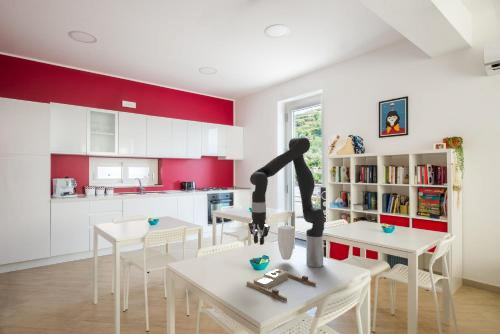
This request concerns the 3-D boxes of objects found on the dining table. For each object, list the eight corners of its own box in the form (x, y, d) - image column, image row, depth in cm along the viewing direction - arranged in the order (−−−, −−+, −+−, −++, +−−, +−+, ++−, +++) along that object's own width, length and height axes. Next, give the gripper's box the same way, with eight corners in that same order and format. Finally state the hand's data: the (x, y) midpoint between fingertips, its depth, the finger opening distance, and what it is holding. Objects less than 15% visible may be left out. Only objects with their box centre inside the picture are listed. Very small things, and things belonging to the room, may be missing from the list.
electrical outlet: (253, 277, 135) (277, 268, 148) (253, 286, 135) (277, 275, 148) (264, 282, 130) (288, 271, 143) (264, 290, 130) (288, 279, 143)
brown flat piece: (278, 272, 152) (278, 266, 152) (316, 285, 135) (316, 279, 135) (246, 285, 136) (246, 278, 136) (284, 302, 118) (284, 295, 118)
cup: (296, 266, 161) (296, 229, 161) (278, 266, 161) (277, 228, 161) (293, 260, 171) (293, 225, 171) (276, 260, 172) (276, 225, 172)
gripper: (273, 211, 144) (273, 245, 144) (254, 208, 154) (254, 240, 154) (263, 213, 138) (263, 248, 138) (244, 210, 149) (244, 242, 149)
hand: (258, 243), depth 146 cm, fingers open, 3 cm apart
